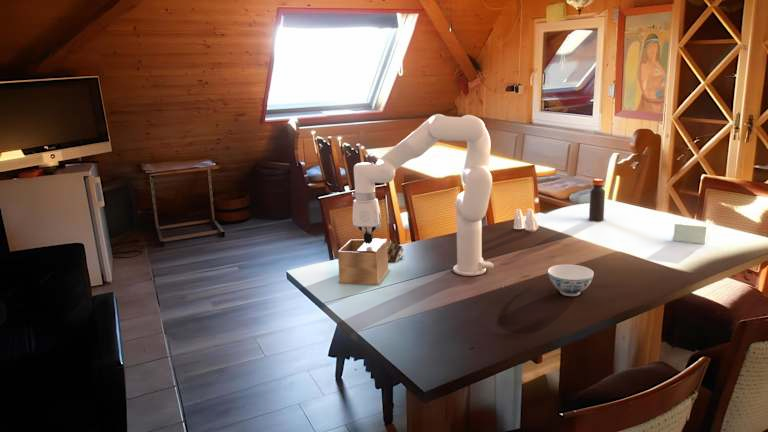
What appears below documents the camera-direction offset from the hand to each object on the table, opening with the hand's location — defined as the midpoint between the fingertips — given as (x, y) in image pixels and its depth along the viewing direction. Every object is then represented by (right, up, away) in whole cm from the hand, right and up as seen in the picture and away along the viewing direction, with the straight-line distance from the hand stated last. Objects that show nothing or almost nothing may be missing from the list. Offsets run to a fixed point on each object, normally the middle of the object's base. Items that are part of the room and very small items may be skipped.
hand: (368, 242), depth 227 cm
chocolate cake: (+10, -8, +23) cm, 27 cm away
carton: (-2, -13, +4) cm, 14 cm away
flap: (+1, -1, 0) cm, 2 cm away
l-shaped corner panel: (+139, 0, +32) cm, 143 cm away
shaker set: (+73, +3, +55) cm, 91 cm away
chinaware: (+70, -16, -21) cm, 75 cm away
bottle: (+111, +8, +68) cm, 130 cm away
